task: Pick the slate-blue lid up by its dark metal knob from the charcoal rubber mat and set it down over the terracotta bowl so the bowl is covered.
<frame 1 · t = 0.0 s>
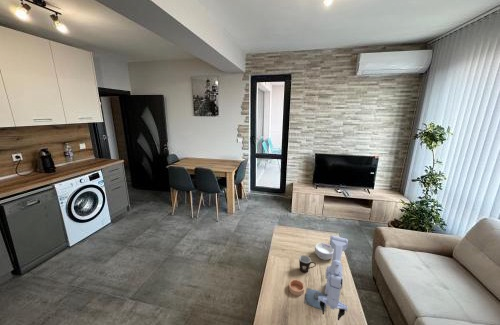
hand: (330, 315, 111), 10 cm above the table, fingers open, 7 cm apart
mat: (315, 299, 132), on the table
lid: (315, 298, 131), resting on mat
paper bowls: (323, 256, 172), on the table
coffee mug: (305, 271, 155), on the table
bowl: (296, 290, 138), on the table
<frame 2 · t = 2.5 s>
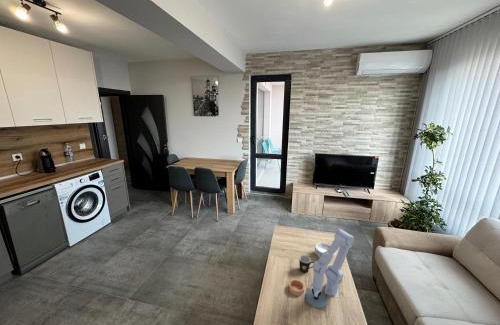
hand: (316, 297, 131), 2 cm above the table, fingers closed on lid, 3 cm apart
lid: (315, 298, 131), resting on mat, touching gripper
everything else where it was.
when the fingers open (7 cm above the table, at t = 5.3 s): lid drops 2 cm, resting on bowl.
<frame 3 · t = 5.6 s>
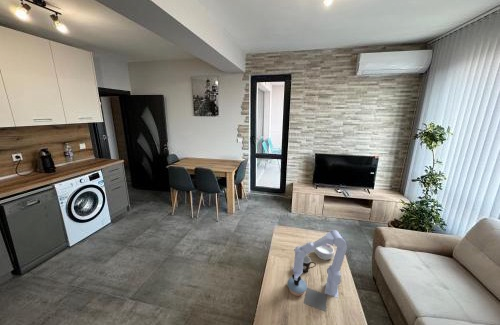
hand: (297, 281, 137), 7 cm above the table, fingers open, 5 cm apart
lid: (296, 285, 138), point 4 cm above the table, touching bowl
bowl: (296, 290, 138), on the table, touching lid
everything else where it was.
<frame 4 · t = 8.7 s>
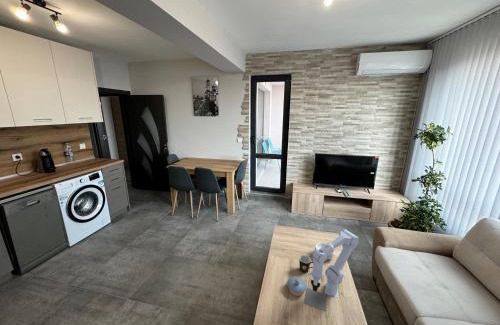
hand: (315, 286, 130), 10 cm above the table, fingers open, 7 cm apart
nothing on the table moved.
at the end: lid 0.3 cm off-centre on the bowl, point 4.0 cm above the bowl's base; lid tilted 0°; the gripper is holding nothing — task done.
